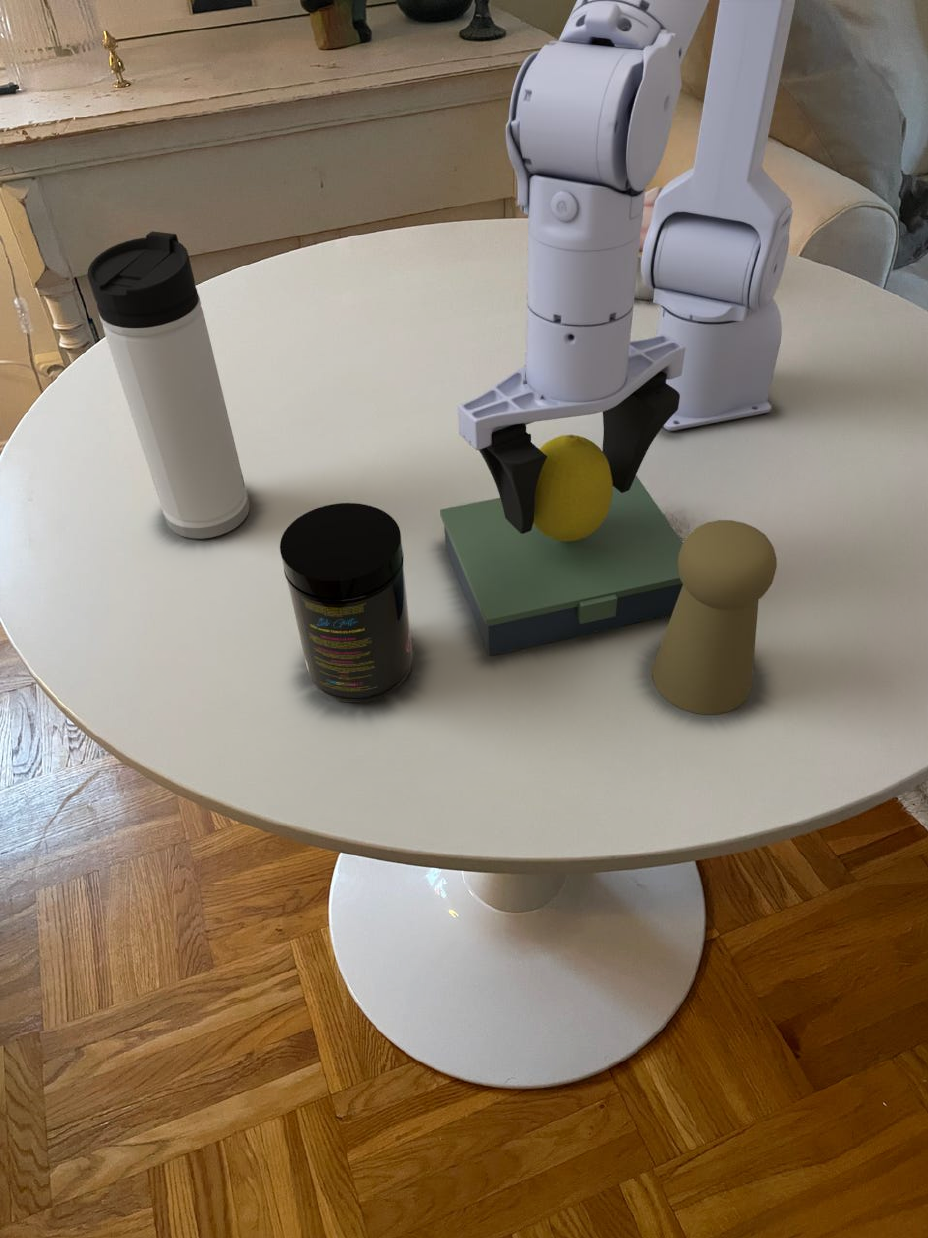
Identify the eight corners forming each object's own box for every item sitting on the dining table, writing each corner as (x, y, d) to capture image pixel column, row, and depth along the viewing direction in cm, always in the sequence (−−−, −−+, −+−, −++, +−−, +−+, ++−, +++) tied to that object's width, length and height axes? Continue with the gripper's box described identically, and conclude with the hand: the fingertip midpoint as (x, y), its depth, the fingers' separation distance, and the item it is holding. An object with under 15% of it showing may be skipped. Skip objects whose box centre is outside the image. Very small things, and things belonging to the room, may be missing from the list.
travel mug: (267, 494, 72) (209, 235, 58) (224, 547, 68) (150, 281, 53) (196, 480, 73) (123, 225, 59) (150, 531, 69) (60, 269, 55)
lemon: (614, 563, 60) (625, 460, 54) (528, 569, 60) (530, 466, 54) (600, 510, 64) (609, 408, 58) (519, 515, 63) (520, 414, 58)
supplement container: (424, 695, 57) (412, 567, 50) (315, 718, 56) (286, 591, 49) (403, 620, 62) (389, 493, 54) (301, 640, 61) (273, 514, 53)
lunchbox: (627, 506, 69) (631, 467, 67) (699, 615, 61) (707, 576, 59) (440, 544, 67) (438, 505, 65) (488, 663, 59) (488, 624, 56)
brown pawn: (642, 645, 59) (662, 508, 52) (735, 637, 59) (769, 499, 52) (664, 718, 55) (690, 581, 47) (765, 710, 55) (807, 571, 47)
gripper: (641, 243, 55) (621, 438, 64) (426, 308, 50) (438, 508, 59) (722, 288, 50) (687, 490, 60) (495, 363, 46) (497, 570, 55)
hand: (568, 503), depth 59 cm, fingers open, 7 cm apart
